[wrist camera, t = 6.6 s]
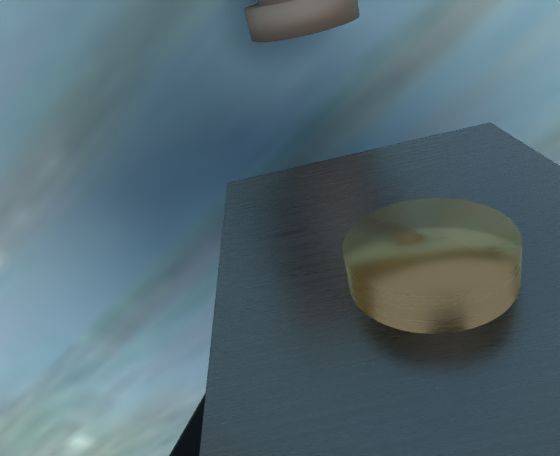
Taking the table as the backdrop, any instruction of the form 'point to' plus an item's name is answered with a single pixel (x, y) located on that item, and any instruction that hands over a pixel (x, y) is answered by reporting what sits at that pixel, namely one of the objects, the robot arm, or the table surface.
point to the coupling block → (391, 305)
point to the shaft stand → (297, 17)
